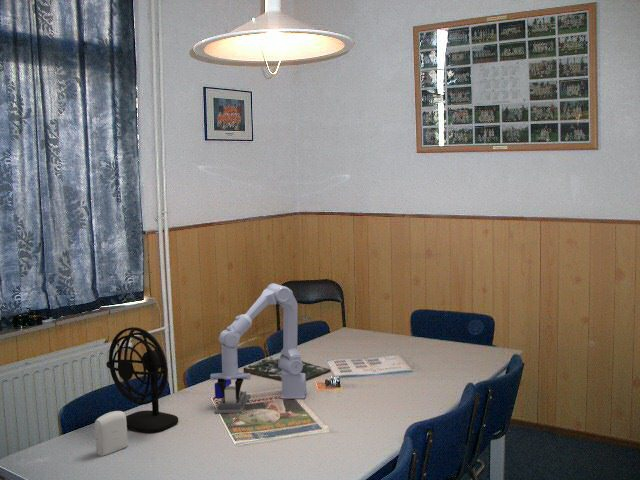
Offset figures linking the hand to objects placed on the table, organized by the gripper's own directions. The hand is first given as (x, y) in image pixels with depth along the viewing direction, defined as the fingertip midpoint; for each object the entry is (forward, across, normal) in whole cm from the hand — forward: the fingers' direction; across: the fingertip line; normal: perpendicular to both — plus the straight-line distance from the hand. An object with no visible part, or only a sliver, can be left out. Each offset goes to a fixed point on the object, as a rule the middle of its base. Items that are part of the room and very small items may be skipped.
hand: (231, 398), depth 267 cm
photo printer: (+4, -31, -40) cm, 51 cm away
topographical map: (+4, +16, +47) cm, 50 cm away
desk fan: (+4, -27, -17) cm, 32 cm away
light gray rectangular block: (+2, 0, 0) cm, 2 cm away
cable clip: (+4, -7, +17) cm, 18 cm away
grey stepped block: (+3, 0, +3) cm, 5 cm away
